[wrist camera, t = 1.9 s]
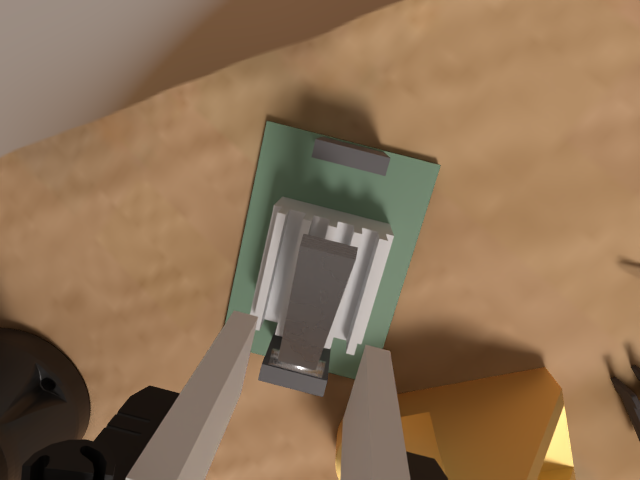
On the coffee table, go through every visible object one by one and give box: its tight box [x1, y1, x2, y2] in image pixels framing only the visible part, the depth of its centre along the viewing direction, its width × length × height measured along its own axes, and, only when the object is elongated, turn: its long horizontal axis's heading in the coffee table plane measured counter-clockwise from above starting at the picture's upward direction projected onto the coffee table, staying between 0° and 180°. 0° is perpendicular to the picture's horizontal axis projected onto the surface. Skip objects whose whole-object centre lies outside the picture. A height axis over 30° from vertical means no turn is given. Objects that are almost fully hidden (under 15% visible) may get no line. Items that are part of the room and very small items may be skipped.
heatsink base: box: [225, 121, 441, 397], centre depth 35 cm, size 20×14×8 cm
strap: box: [269, 234, 358, 378], centre depth 27 cm, size 15×4×1 cm
